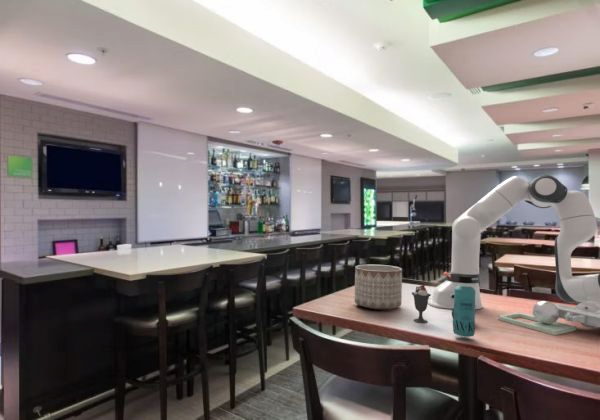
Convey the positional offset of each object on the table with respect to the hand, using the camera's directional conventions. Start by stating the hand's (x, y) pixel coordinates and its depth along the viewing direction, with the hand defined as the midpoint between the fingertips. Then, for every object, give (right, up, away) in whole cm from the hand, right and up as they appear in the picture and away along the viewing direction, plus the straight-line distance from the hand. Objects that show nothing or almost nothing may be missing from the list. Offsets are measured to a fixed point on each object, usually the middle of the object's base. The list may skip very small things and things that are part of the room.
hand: (569, 318), depth 124 cm
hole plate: (-5, -5, +12) cm, 14 cm away
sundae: (-46, -5, +12) cm, 48 cm away
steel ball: (-3, 0, +8) cm, 8 cm away
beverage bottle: (-38, -5, -6) cm, 39 cm away
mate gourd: (-31, -5, +11) cm, 33 cm away
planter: (-57, -5, +33) cm, 66 cm away
